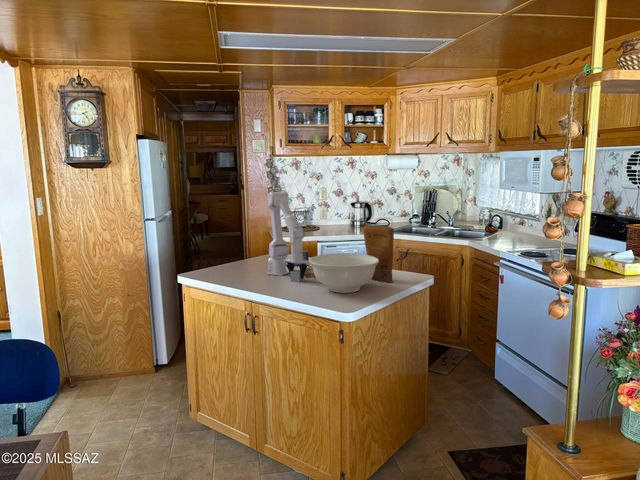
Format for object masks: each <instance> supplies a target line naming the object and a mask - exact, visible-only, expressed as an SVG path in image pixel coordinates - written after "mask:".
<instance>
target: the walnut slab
mask: <svg viewBox="0 0 640 480" xmlns="http://www.w3.org/2000/svg"><path fill="white" fill-rule="evenodd" d="M304 276H306V277H305V278H311V277H314V278H316V277H315V274H310V273H305V274H304Z"/></svg>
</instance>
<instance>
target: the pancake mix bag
mask: <svg viewBox="0 0 640 480" xmlns="http://www.w3.org/2000/svg"><path fill="white" fill-rule="evenodd" d="M362 235H363V240H364V247H365V252H366V253H365V254H366V255H369V256H373V257H375V258H377V259H378V260H379V262H378V264H377V265H376V267H375V271H374V275H373V277H372V278H371V280H372V279H374V280H373V281H376V280H378V281H377V282H381V281H382V282H381V283H384V282H392V283H394V282H393V281H394V280H393V259H394V239H395V236H394V235H395V228H393V227H392V226H383V225H382V226H381V225H379V226H378V225H375V226H374V225H364V226H362Z"/></svg>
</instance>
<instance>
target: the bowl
mask: <svg viewBox="0 0 640 480" xmlns="http://www.w3.org/2000/svg"><path fill="white" fill-rule="evenodd" d="M309 262H310V263H311V266H312V267H313V271H314V274H315V277H314V278H316V279H317V280H318V282H320V283H321V284H322V285H325V286H327V290H328V291H330V292H333V293H341V294H347V293H350V294H351V293H356V291H357V292H358V291H360V290H361V287H362V286H364V285H366V284H367V283H369V282H370V281H371V280H372V279H371V278H372V277H373V275H374V271H375V267H376V265H377V264H378V262H379V260H378V259H377V258H375V257H373V256H369V255H367V254H362V253H347V252H346V253H345V252H344V253H341V252H338V253H327V254H321V255H316V256H315V255H314V256H312V257H310V258H309Z"/></svg>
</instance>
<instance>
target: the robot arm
mask: <svg viewBox="0 0 640 480" xmlns="http://www.w3.org/2000/svg"><path fill="white" fill-rule="evenodd" d="M266 199H267V208H268V209H270V210H269V211H270V218H271V227H272V229H271V230H272V237H273V239H272V241H271V242H270V243H269V244H268V245H269V246H268V247H269V248H268V255H269V256H270V257H269V258H268V260H267V273H266V274H267V275H273V276H274V275H275V276H284V275H287V274H289V276H290V277H291V275H290V272H291V271H293V270H295V267H296V266H295V264H301V265H300V266H299V270H300V277H301V279H303V278H304V279H305V277H304V274H305V270H306V268H307V266H308V265H309V266H312V264H311V263H310V262H309V261H308V260H303V254H302V250H303V239H304V238H305V234H306V233H305V229H304V228H303V227H302V226H301V225H300V224H299V222H298V220H297V218H296V216H295V215H293V213H292V211H291V207H290V205H289V202H290V201H289V199H290V197H289V194H288V192H287V191H280V192H279V191H277V192H275V191H274V192H269V193H268V195H267V198H266ZM281 211H282V213H283V215H284V217H285V219H284V222H285V224H286V227H287V229H288V231H289V232H288V238H289V242H290V246H289V244H288V242H287V240H285V239H284V236H283V226H282V219H281V218H282V217H281ZM289 247H290V248H289ZM289 254H290V258H288V256H289ZM287 269H288V271H287Z"/></svg>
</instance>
